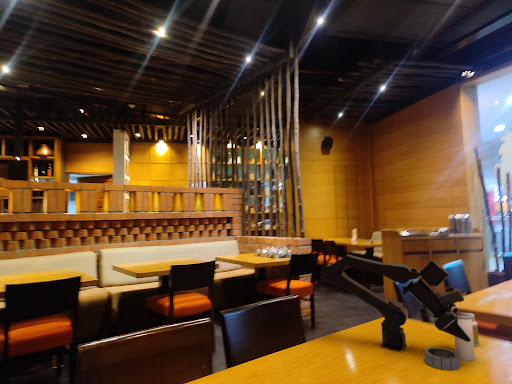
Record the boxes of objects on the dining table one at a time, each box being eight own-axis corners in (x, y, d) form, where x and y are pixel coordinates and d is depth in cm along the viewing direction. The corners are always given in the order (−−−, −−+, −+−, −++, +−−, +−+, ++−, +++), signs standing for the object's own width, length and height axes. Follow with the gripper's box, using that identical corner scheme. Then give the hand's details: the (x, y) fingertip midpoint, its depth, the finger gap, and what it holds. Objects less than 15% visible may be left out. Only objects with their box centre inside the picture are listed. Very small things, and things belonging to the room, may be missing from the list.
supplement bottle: (478, 347, 111) (476, 317, 112) (459, 344, 114) (457, 314, 115) (479, 342, 115) (477, 313, 116) (461, 339, 118) (459, 311, 119)
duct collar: (420, 363, 99) (420, 353, 99) (430, 355, 105) (430, 345, 106) (455, 373, 93) (454, 361, 93) (463, 362, 99) (462, 352, 99)
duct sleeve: (453, 358, 103) (450, 314, 104) (457, 353, 106) (454, 311, 107) (473, 362, 99) (469, 317, 100) (477, 357, 103) (473, 314, 104)
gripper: (444, 284, 99) (493, 328, 92) (445, 275, 115) (487, 312, 108) (416, 308, 102) (461, 353, 95) (421, 296, 118) (460, 333, 111)
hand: (469, 336), depth 102 cm, fingers open, 9 cm apart
